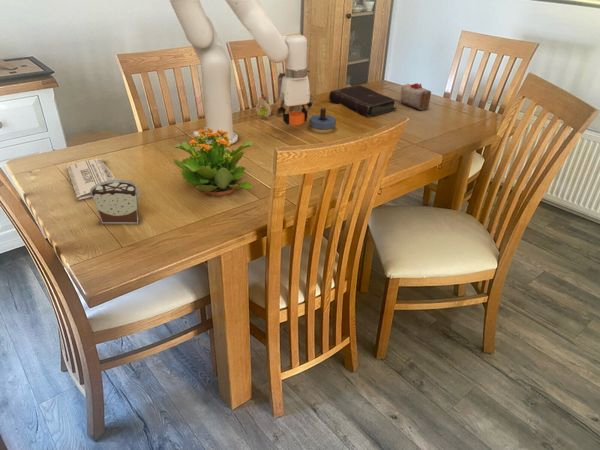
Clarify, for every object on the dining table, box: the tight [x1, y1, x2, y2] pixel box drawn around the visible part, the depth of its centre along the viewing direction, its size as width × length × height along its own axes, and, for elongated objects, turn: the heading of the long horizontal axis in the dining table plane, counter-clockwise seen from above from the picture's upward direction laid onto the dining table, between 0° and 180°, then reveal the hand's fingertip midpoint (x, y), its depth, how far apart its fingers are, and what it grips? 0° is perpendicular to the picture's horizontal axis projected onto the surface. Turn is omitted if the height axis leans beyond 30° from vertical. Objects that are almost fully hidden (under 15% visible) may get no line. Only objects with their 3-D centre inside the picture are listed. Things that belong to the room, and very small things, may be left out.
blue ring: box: [308, 114, 337, 131], centre depth 182 cm, size 10×10×2 cm
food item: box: [400, 82, 432, 111], centre depth 208 cm, size 14×8×10 cm, turn 33°
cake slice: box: [89, 178, 141, 225], centre depth 122 cm, size 12×6×10 cm, turn 92°
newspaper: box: [66, 157, 117, 201], centre depth 142 cm, size 23×12×2 cm, turn 30°
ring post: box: [309, 107, 336, 131], centre depth 182 cm, size 10×10×8 cm
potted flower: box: [172, 128, 254, 197], centre depth 135 cm, size 25×24×18 cm
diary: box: [328, 84, 399, 118], centre depth 207 cm, size 19×25×5 cm
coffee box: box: [277, 72, 302, 114], centre depth 193 cm, size 9×6×16 cm
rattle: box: [255, 90, 272, 118], centre depth 190 cm, size 8×8×12 cm
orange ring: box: [288, 110, 305, 126], centre depth 174 cm, size 6×6×3 cm
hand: (295, 121), depth 175 cm, fingers closed on orange ring, 6 cm apart
